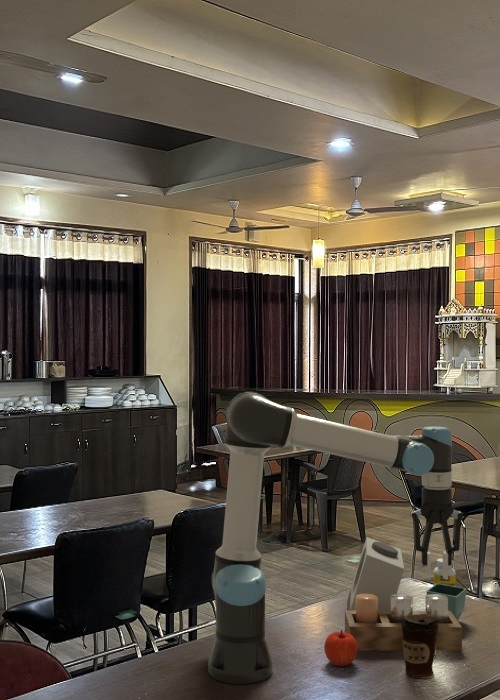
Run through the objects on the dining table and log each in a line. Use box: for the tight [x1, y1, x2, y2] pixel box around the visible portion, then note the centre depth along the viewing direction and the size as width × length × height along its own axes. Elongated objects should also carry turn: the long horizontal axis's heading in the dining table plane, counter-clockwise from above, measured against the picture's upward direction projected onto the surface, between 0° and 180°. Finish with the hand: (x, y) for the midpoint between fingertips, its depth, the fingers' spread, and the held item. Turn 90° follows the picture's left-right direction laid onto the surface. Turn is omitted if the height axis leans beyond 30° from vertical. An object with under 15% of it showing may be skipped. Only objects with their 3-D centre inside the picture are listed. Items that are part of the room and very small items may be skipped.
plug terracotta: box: [356, 594, 378, 623], centre depth 203 cm, size 6×6×7 cm
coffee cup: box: [402, 614, 438, 679], centre depth 183 cm, size 9×8×13 cm
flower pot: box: [426, 584, 467, 622], centre depth 218 cm, size 9×9×9 cm
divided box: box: [344, 609, 463, 652], centre depth 203 cm, size 28×12×6 cm, turn 89°
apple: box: [323, 629, 359, 667], centre depth 189 cm, size 8×8×8 cm
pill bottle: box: [433, 557, 457, 587], centre depth 238 cm, size 6×6×12 cm
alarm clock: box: [346, 536, 405, 611], centre depth 225 cm, size 20×16×20 cm
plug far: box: [425, 594, 448, 624], centre depth 203 cm, size 6×6×7 cm
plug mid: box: [391, 593, 414, 623], centre depth 203 cm, size 6×6×7 cm
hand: (436, 577), depth 203 cm, fingers open, 4 cm apart
